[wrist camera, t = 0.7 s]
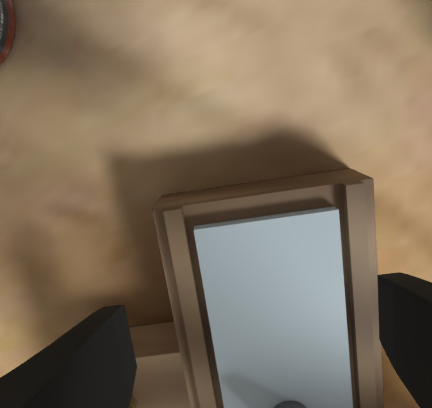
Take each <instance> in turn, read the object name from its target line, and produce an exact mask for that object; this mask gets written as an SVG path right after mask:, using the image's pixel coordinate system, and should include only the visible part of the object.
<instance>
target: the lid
mask: <svg viewBox="0 0 432 408" xmlns="http://www.w3.org/2000/svg"><path fill="white" fill-rule="evenodd" d="M194 236H195V241H196V247H197V253H198V259H199V265H200V271H201V276H202V282H203V288H204V294H205V300H206V306H207V311H208V317H209V323H210V329H211V335H212V341H213V346H214V352H215V358H216V364H217V370H218V375H219V381H220V387H221V393H222V399H223V405H224V408H353V400H352V386H351V372H350V358H349V344H348V330H347V316H346V302H345V288H344V274H343V260H342V246H341V232H340V219H339V209H337V208H336V207H335V206H333V207H326V208H319V209H312V210H304V211H297V212H290V213H283V214H276V215H269V216H262V217H255V218H247V219H240V220H233V221H226V222H219V223H212V224H205V225H197V226H194Z"/></svg>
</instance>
